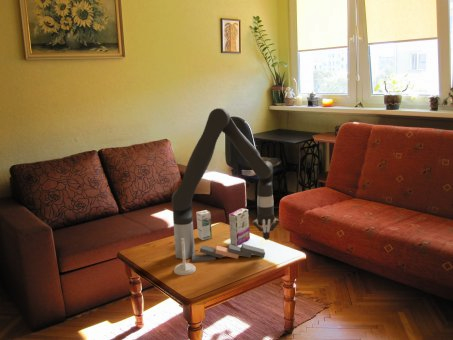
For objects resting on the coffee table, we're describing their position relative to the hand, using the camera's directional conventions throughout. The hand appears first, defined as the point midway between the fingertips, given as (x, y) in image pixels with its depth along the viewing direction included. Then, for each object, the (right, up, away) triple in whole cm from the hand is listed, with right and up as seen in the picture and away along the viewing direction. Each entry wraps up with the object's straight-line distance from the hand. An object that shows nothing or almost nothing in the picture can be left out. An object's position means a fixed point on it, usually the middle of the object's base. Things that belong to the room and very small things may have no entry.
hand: (266, 239), depth 225 cm
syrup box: (-31, -3, +27) cm, 41 cm away
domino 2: (-21, -8, +1) cm, 22 cm away
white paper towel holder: (-38, -13, -11) cm, 41 cm away
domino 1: (-24, -9, +1) cm, 26 cm away
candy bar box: (-12, -4, +20) cm, 23 cm away
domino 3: (-13, -8, +1) cm, 16 cm away
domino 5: (-1, -7, +1) cm, 7 cm away
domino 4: (-7, -7, +1) cm, 10 cm away
